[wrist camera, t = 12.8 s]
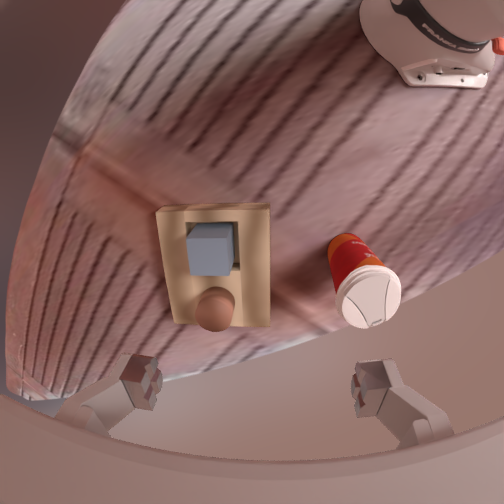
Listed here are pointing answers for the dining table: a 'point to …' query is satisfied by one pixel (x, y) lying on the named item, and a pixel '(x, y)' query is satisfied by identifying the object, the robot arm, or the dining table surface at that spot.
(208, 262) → the slate block
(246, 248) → the assembly board
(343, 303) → the paper cup
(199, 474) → the robot arm
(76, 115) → the dining table surface
